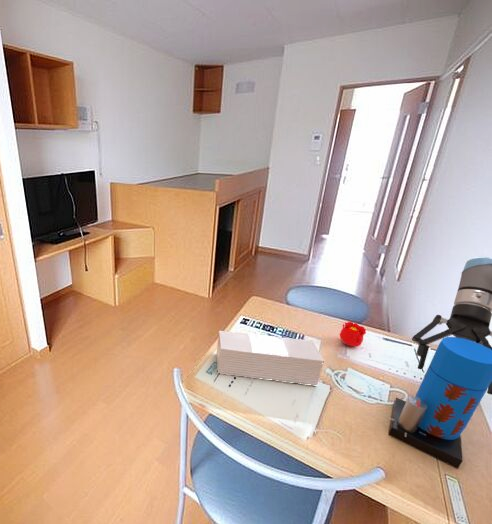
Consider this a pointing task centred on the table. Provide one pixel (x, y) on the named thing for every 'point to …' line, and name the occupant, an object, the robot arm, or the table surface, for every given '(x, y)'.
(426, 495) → the table surface
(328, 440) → the table surface
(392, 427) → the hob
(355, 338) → the flower
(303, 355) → the stack of papers
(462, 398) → the thermos
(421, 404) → the beige cylinder
